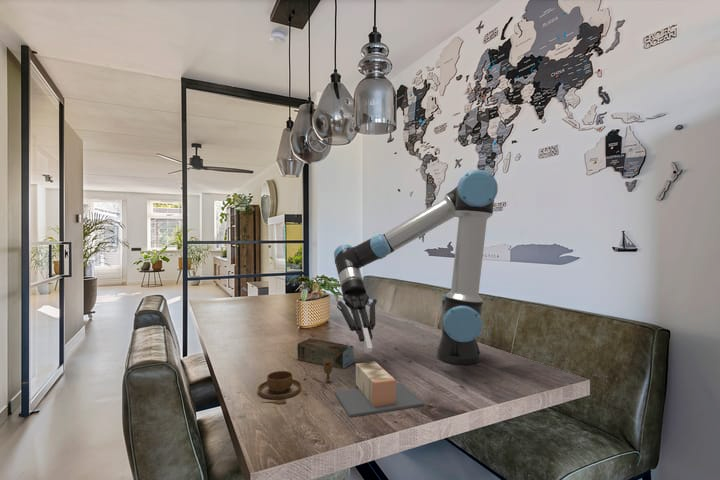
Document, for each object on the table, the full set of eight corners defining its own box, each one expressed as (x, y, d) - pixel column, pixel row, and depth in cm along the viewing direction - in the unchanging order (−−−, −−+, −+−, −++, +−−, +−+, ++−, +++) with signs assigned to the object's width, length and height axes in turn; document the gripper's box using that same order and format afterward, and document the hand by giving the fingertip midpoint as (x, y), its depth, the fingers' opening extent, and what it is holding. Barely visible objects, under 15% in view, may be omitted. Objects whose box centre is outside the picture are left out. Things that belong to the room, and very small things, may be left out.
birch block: (375, 361, 107) (395, 380, 93) (375, 381, 107) (395, 403, 93) (355, 363, 106) (373, 383, 91) (355, 384, 106) (373, 406, 91)
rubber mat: (401, 384, 107) (401, 382, 107) (424, 405, 93) (424, 403, 93) (334, 393, 100) (334, 391, 100) (349, 417, 87) (349, 414, 87)
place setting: (268, 379, 112) (268, 360, 112) (333, 381, 111) (333, 361, 111) (248, 405, 94) (248, 382, 94) (325, 407, 93) (325, 384, 93)
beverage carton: (343, 370, 119) (343, 349, 119) (296, 360, 128) (296, 342, 128) (354, 362, 126) (354, 343, 126) (309, 354, 135) (309, 336, 135)
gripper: (368, 291, 124) (386, 354, 108) (330, 292, 120) (344, 359, 104) (373, 276, 119) (393, 341, 103) (334, 278, 115) (349, 345, 99)
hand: (369, 350), depth 104 cm, fingers closed
